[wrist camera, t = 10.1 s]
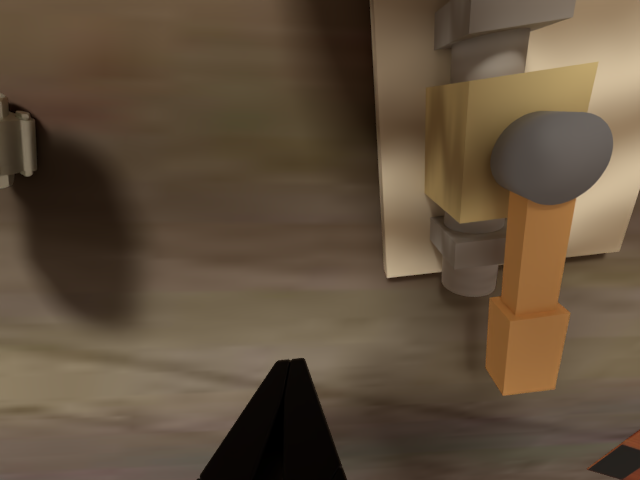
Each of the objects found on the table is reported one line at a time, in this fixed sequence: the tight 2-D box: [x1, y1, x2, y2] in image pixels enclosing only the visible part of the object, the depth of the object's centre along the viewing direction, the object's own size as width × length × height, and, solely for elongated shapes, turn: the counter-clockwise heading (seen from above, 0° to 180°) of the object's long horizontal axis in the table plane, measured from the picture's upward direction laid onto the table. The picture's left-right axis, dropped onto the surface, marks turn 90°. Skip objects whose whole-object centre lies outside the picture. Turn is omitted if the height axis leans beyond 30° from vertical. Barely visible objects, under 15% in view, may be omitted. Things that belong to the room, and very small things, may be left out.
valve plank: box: [370, 0, 640, 297], centre depth 15 cm, size 18×16×7 cm
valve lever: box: [485, 111, 613, 396], centre depth 13 cm, size 3×14×2 cm, turn 11°
